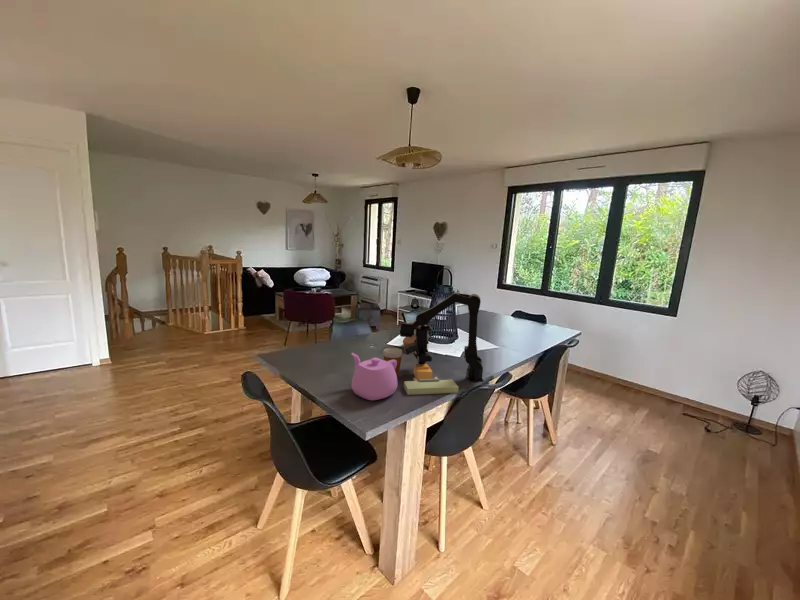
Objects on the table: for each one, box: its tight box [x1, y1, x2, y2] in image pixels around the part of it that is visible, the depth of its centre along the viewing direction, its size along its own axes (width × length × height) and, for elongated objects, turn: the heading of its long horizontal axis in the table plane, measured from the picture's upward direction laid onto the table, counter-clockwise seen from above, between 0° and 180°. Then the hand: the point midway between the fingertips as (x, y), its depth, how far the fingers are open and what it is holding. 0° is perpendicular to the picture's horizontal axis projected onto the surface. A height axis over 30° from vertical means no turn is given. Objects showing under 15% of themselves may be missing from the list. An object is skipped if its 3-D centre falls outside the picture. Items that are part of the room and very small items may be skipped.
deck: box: [403, 376, 460, 396], centre depth 157 cm, size 22×14×3 cm, turn 100°
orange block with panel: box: [413, 363, 433, 381], centre depth 168 cm, size 7×8×5 cm
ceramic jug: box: [402, 321, 429, 346], centre depth 213 cm, size 18×14×14 cm
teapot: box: [351, 352, 398, 401], centre depth 151 cm, size 23×21×15 cm
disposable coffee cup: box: [382, 347, 404, 377], centre depth 169 cm, size 10×10×12 cm
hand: (420, 369), depth 174 cm, fingers closed
